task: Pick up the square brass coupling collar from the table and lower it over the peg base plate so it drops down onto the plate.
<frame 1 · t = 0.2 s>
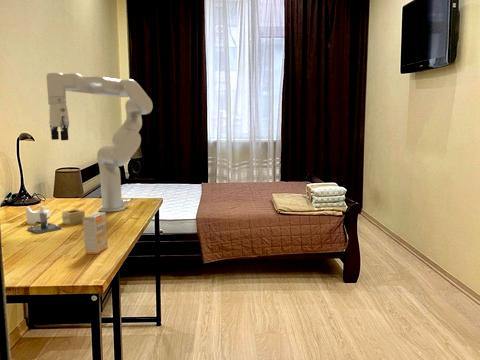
hand: (59, 139, 217), 36 cm above the table, tool pointing down, fingers open, 9 cm apart
collar: (74, 222, 213), on the table
supplement box: (97, 251, 169), on the table
bracket: (39, 221, 220), on the table
peg base plate: (44, 229, 202), on the table
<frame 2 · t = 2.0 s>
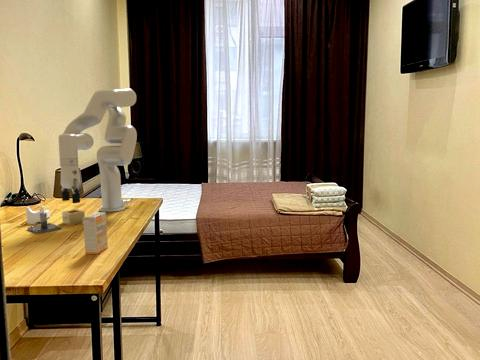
hand: (71, 201, 211), 10 cm above the table, tool pointing down, fingers open, 9 cm apart
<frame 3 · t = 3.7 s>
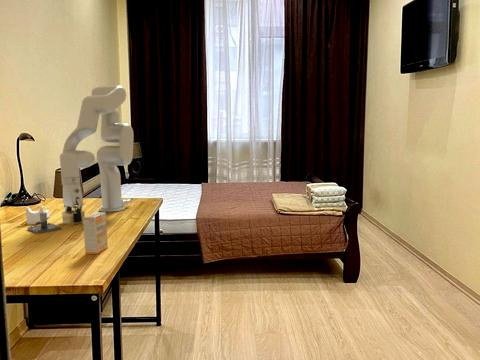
hand: (73, 220, 213), 1 cm above the table, tool pointing down, fingers closed on collar, 7 cm apart
collar: (74, 222, 213), on the table, touching gripper
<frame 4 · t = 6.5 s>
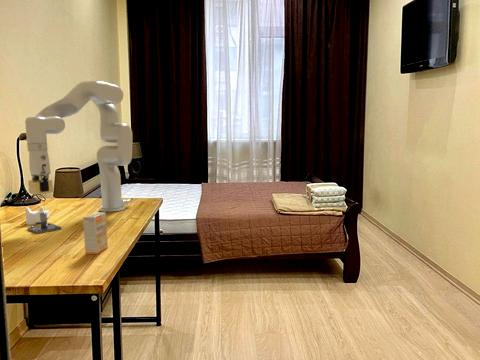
hand: (41, 190, 200), 17 cm above the table, tool pointing down, fingers closed on collar, 7 cm apart
collar: (41, 192, 200), point 16 cm above the table, touching gripper
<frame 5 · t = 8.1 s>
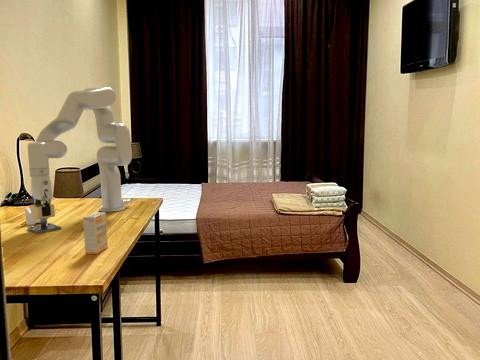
hand: (43, 214, 201), 6 cm above the table, tool pointing down, fingers closed on collar, 7 cm apart
collar: (43, 216, 201), point 5 cm above the table, touching gripper
when the fingers open (5 cm above the table, at t = 9.4 s): collar drops 3 cm, resting on peg base plate.
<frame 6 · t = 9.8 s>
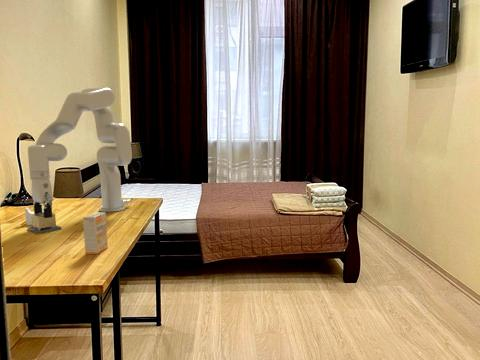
hand: (43, 215, 201), 6 cm above the table, tool pointing down, fingers open, 9 cm apart
collar: (44, 225, 202), point 2 cm above the table, touching peg base plate
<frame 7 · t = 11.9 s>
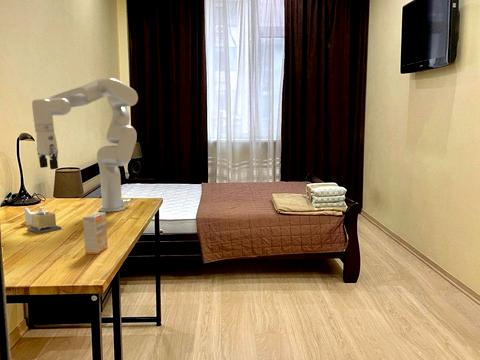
hand: (49, 168, 209), 25 cm above the table, tool pointing down, fingers open, 9 cm apart
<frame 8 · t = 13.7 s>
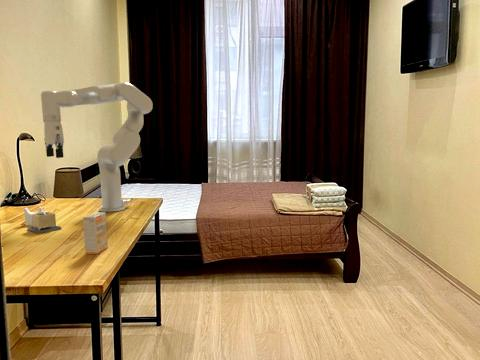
hand: (55, 157, 219), 28 cm above the table, tool pointing down, fingers open, 9 cm apart
at the end: collar 0.0 cm from the peg base plate (horizontally); collar point 1.6 cm above the table; the gripper is holding nothing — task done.
